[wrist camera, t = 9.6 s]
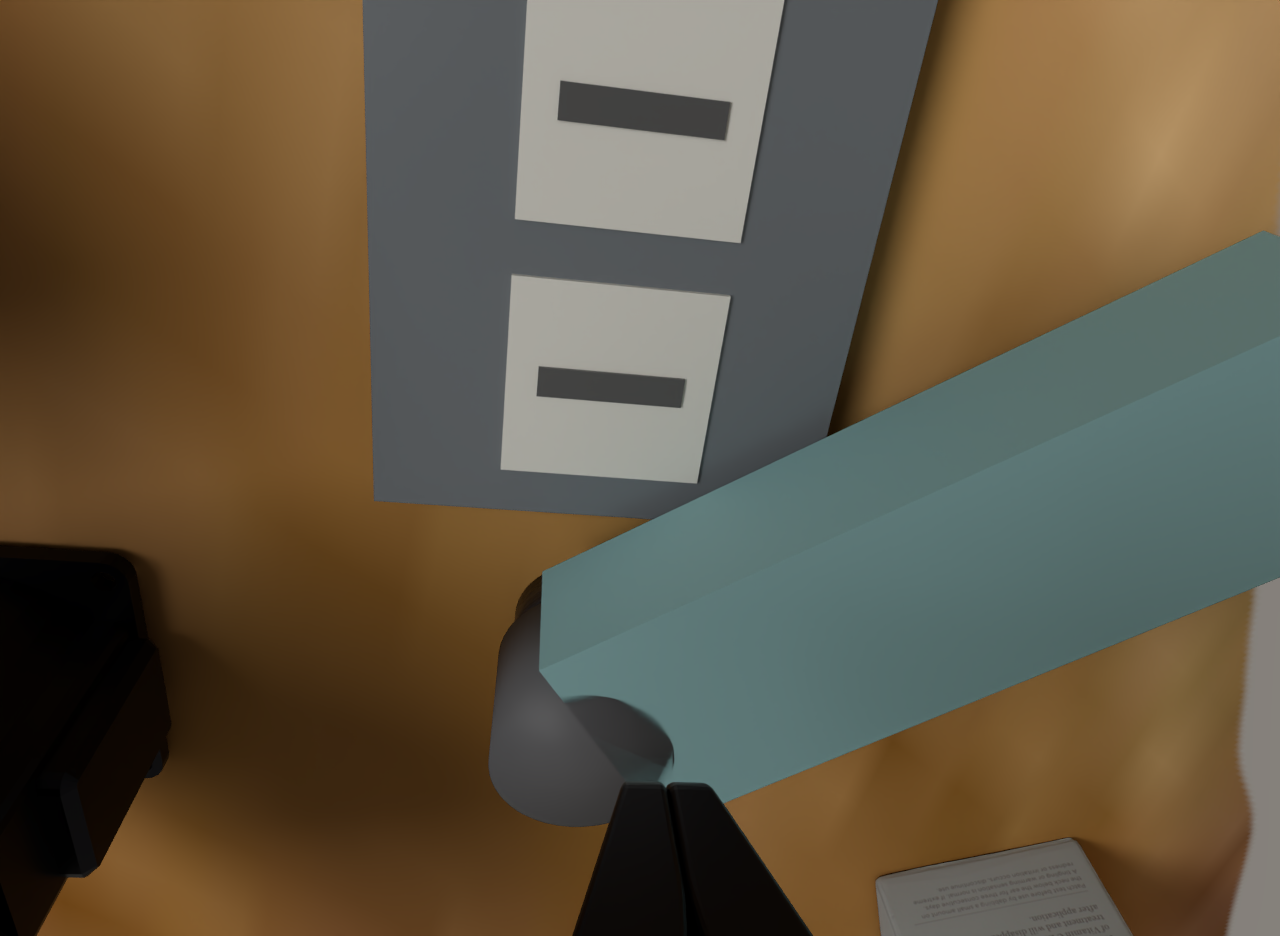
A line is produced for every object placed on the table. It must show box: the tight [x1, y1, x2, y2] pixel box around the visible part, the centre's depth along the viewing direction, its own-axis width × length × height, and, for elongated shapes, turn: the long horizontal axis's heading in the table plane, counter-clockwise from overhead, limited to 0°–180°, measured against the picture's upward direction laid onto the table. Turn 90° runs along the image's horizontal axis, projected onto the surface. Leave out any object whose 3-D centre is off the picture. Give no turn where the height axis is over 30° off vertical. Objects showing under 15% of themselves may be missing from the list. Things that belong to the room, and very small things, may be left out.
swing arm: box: [489, 231, 1280, 827], centre depth 17 cm, size 5×17×3 cm, turn 117°
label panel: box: [363, 0, 938, 519], centre depth 16 cm, size 9×11×1 cm
